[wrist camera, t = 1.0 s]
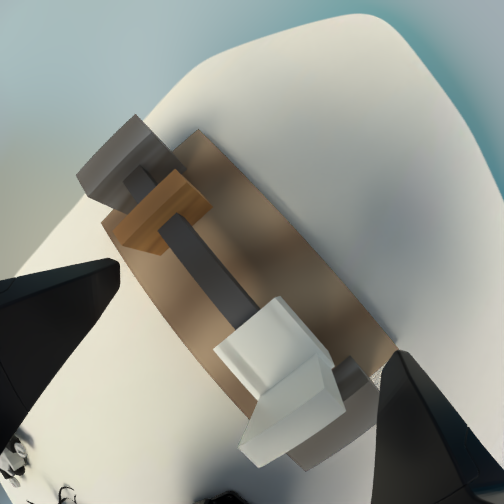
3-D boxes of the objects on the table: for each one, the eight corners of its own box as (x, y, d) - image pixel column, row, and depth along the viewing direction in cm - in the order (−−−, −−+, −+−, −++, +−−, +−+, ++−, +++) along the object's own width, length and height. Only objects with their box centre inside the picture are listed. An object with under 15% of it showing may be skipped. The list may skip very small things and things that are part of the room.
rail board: (394, 347, 17) (436, 372, 11) (276, 439, 18) (264, 496, 11) (202, 135, 21) (167, 83, 15) (108, 225, 22) (49, 204, 15)
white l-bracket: (328, 350, 15) (351, 407, 7) (277, 391, 15) (253, 471, 7) (280, 295, 16) (259, 301, 8) (230, 337, 16) (167, 377, 8)
